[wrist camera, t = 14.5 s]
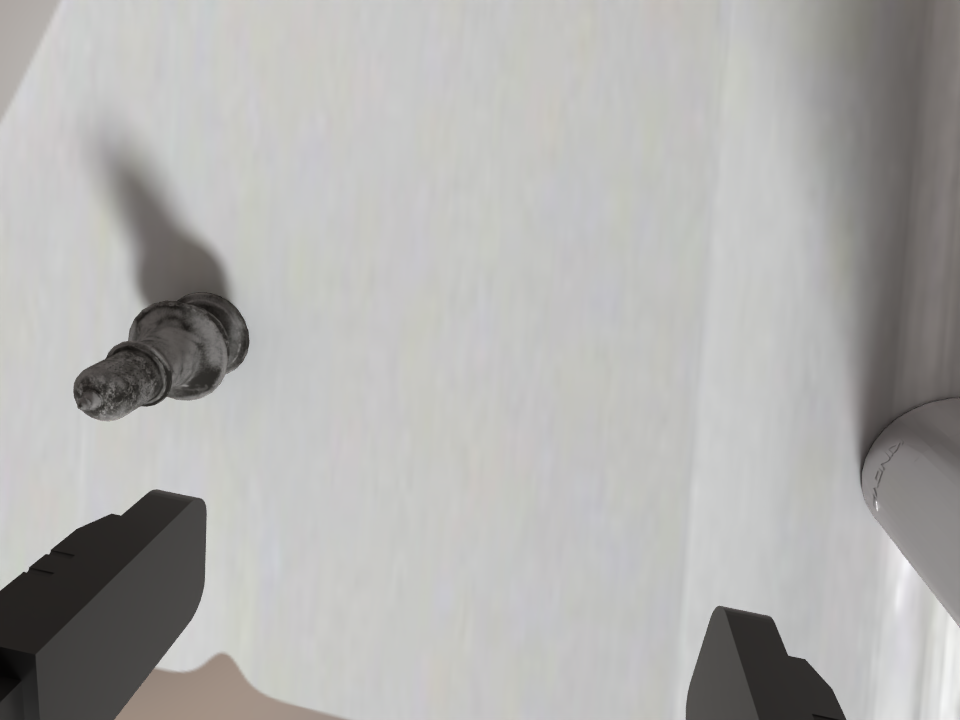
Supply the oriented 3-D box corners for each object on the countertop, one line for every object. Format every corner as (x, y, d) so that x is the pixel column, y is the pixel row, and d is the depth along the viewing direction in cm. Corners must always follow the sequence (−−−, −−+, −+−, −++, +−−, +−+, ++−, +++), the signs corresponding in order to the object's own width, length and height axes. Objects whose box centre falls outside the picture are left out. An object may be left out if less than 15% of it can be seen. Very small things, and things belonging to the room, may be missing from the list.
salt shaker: (162, 279, 43) (13, 334, 31) (256, 297, 42) (140, 359, 31) (161, 370, 44) (21, 452, 33) (251, 387, 44) (140, 477, 33)
